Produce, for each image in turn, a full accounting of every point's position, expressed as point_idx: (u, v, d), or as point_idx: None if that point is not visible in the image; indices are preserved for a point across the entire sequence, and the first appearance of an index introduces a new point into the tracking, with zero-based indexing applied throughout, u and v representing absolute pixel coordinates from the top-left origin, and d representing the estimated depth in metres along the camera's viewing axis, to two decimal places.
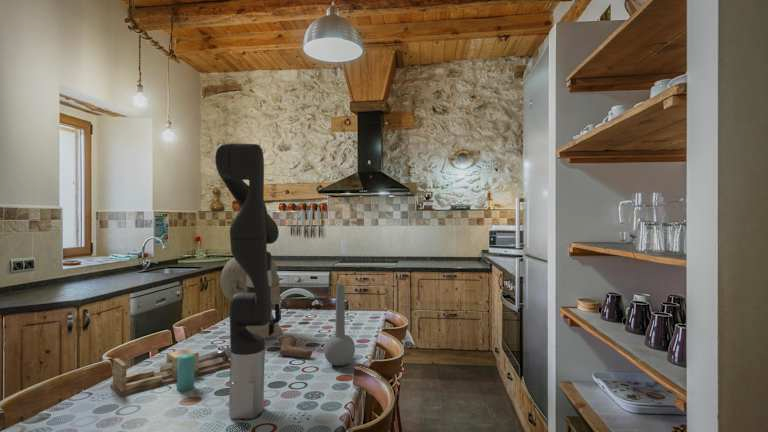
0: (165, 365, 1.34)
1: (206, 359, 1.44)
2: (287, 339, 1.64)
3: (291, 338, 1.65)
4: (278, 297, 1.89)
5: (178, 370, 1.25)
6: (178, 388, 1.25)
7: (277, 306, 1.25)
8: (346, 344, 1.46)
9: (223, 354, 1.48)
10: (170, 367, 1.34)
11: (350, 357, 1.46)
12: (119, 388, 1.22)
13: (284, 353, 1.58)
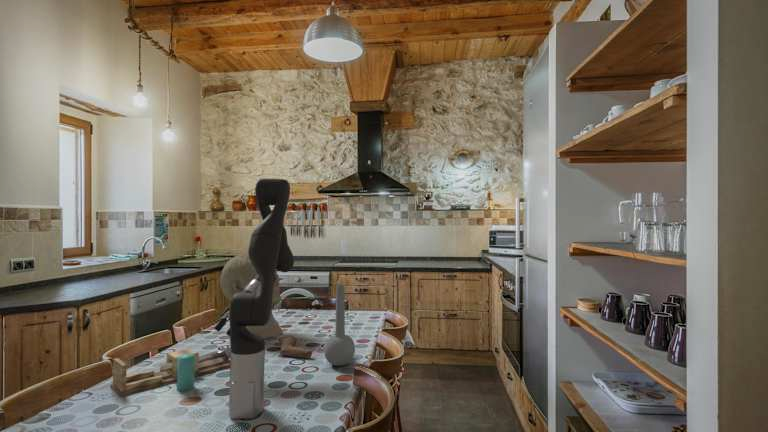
0: (165, 365, 1.34)
1: (206, 359, 1.44)
2: (287, 339, 1.64)
3: (291, 338, 1.65)
4: (278, 297, 1.89)
5: (178, 370, 1.25)
6: (178, 388, 1.25)
7: None
8: (346, 344, 1.46)
9: (223, 354, 1.48)
10: (170, 367, 1.34)
11: (350, 357, 1.46)
12: (119, 388, 1.22)
13: (284, 353, 1.58)
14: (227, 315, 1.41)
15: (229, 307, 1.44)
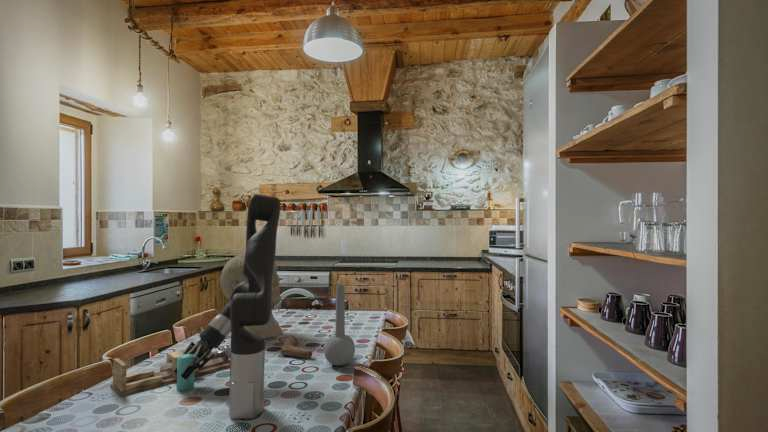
0: (165, 365, 1.34)
1: None
2: (289, 339, 1.64)
3: (292, 338, 1.65)
4: (278, 297, 1.89)
5: (178, 370, 1.25)
6: (178, 388, 1.25)
7: (207, 352, 1.26)
8: (346, 344, 1.46)
9: (223, 354, 1.48)
10: (170, 367, 1.34)
11: (350, 357, 1.46)
12: (119, 388, 1.22)
13: (285, 353, 1.58)
14: None
15: (191, 346, 1.33)
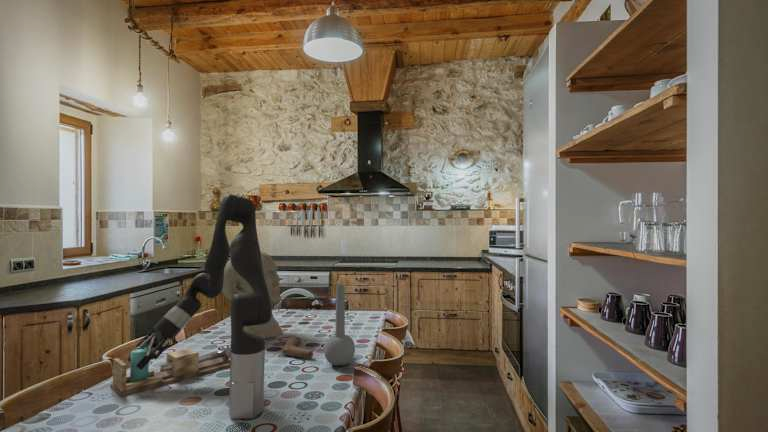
0: (165, 365, 1.34)
1: (206, 359, 1.44)
2: (291, 339, 1.64)
3: (295, 338, 1.65)
4: (278, 297, 1.89)
5: (131, 364, 1.26)
6: (131, 382, 1.26)
7: (162, 341, 1.28)
8: (346, 344, 1.46)
9: (223, 354, 1.48)
10: (170, 367, 1.34)
11: (350, 357, 1.46)
12: (119, 388, 1.22)
13: (286, 353, 1.59)
14: (143, 345, 1.32)
15: (147, 336, 1.35)
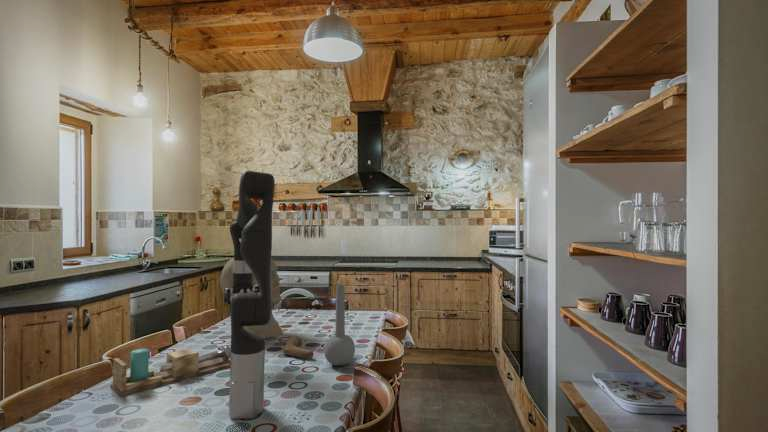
0: (165, 365, 1.34)
1: (206, 359, 1.44)
2: (292, 339, 1.64)
3: (296, 338, 1.65)
4: (278, 297, 1.89)
5: (131, 365, 1.26)
6: (131, 382, 1.26)
7: (258, 287, 1.60)
8: (346, 344, 1.46)
9: (223, 354, 1.48)
10: (170, 367, 1.34)
11: (350, 357, 1.46)
12: (119, 388, 1.22)
13: (287, 353, 1.59)
14: None
15: None
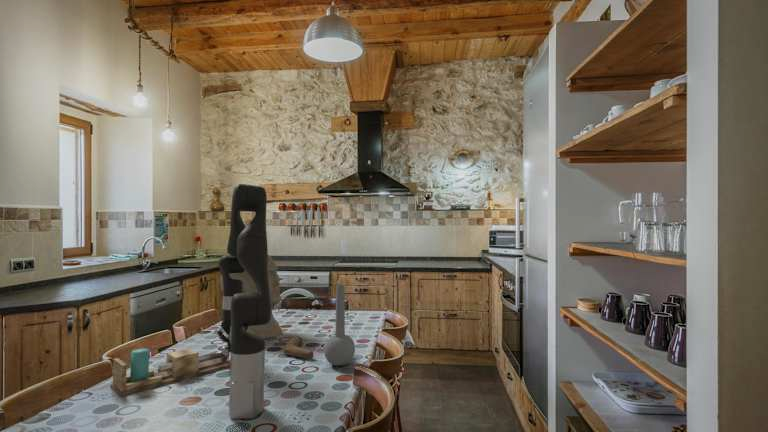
0: (163, 366, 1.33)
1: (204, 359, 1.43)
2: (292, 339, 1.64)
3: (297, 338, 1.65)
4: (278, 297, 1.89)
5: (131, 364, 1.26)
6: (131, 382, 1.26)
7: (247, 327, 1.55)
8: (346, 344, 1.46)
9: (221, 354, 1.48)
10: (168, 368, 1.34)
11: (350, 357, 1.46)
12: (119, 388, 1.22)
13: (287, 353, 1.59)
14: None
15: None
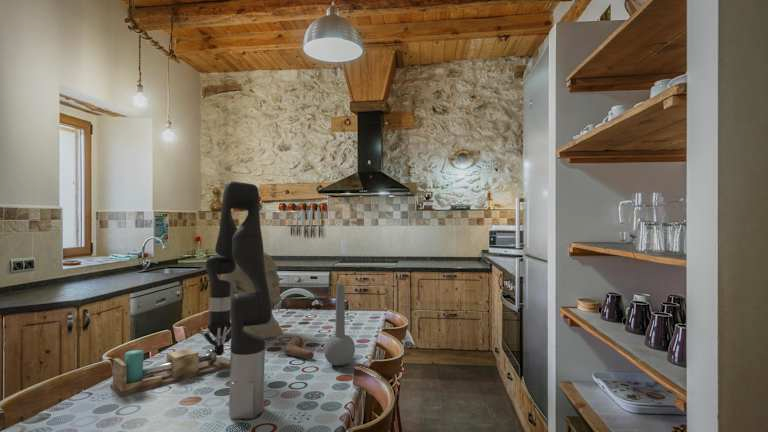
0: (147, 369, 1.29)
1: None
2: (293, 339, 1.64)
3: (297, 338, 1.65)
4: (278, 297, 1.89)
5: None
6: None
7: None
8: (346, 344, 1.46)
9: (208, 358, 1.44)
10: (152, 371, 1.30)
11: (350, 357, 1.46)
12: (119, 388, 1.22)
13: (288, 353, 1.59)
14: None
15: None
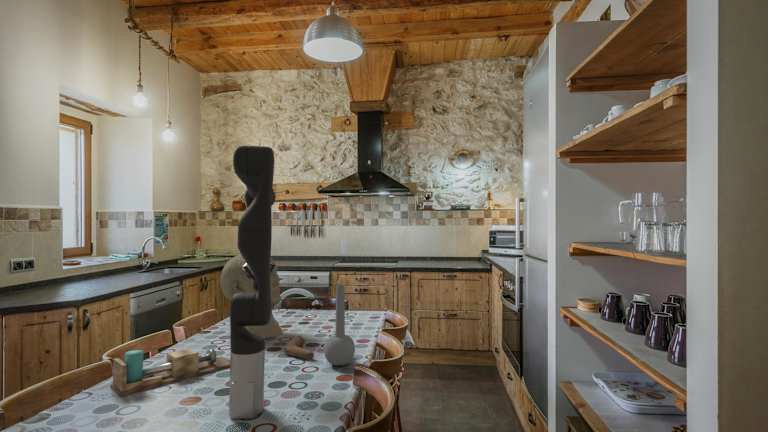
0: (147, 369, 1.29)
1: None
2: (294, 339, 1.64)
3: (298, 338, 1.65)
4: (278, 297, 1.89)
5: None
6: None
7: (273, 266, 1.45)
8: (346, 344, 1.46)
9: (208, 358, 1.44)
10: (152, 371, 1.30)
11: (350, 357, 1.46)
12: (119, 388, 1.22)
13: (288, 353, 1.59)
14: None
15: (249, 268, 1.38)
